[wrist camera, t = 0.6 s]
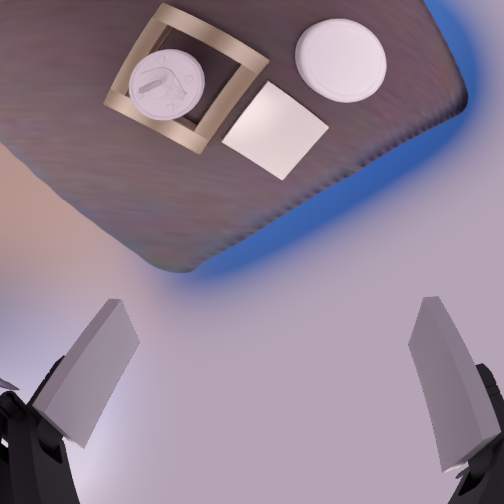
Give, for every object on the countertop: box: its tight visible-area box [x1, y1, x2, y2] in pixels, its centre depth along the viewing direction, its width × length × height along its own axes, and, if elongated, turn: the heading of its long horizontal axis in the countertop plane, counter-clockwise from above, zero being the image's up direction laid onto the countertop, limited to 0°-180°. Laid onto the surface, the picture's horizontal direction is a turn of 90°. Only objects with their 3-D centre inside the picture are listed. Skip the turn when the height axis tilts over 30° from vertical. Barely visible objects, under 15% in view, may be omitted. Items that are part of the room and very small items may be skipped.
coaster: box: [295, 19, 386, 103], centre depth 24 cm, size 10×10×4 cm
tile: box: [222, 80, 329, 180], centre depth 31 cm, size 9×9×1 cm
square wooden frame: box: [103, 3, 270, 155], centre depth 25 cm, size 13×13×3 cm
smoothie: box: [129, 49, 205, 120], centre depth 21 cm, size 6×6×14 cm
